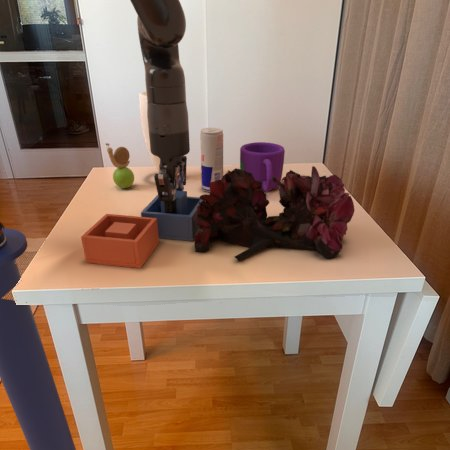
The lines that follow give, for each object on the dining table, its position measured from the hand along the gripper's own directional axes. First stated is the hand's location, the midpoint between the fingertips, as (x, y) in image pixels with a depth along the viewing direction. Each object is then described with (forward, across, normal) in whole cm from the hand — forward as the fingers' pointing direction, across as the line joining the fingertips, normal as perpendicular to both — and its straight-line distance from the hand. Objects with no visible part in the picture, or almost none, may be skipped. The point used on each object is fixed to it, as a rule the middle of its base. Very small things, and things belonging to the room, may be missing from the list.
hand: (174, 212), depth 88 cm
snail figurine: (+4, -21, -21) cm, 30 cm away
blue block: (0, 0, 0) cm, 0 cm away
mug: (+4, -28, +15) cm, 32 cm away
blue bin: (+3, 0, 0) cm, 3 cm away
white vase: (+4, -31, -13) cm, 34 cm away
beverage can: (+4, -25, +2) cm, 25 cm away
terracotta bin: (+3, +12, -7) cm, 15 cm away
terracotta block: (+3, +13, -6) cm, 14 cm away
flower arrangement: (+4, +1, +21) cm, 21 cm away
